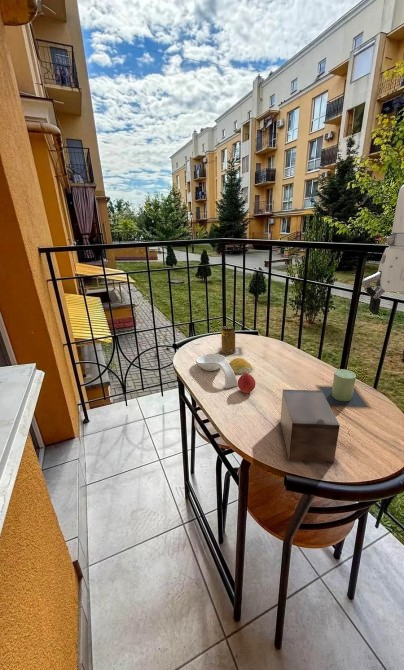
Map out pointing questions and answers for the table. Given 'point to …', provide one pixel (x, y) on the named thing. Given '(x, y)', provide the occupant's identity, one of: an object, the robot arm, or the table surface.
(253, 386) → the onion
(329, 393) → the mat
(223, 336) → the condiment
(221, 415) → the table surface
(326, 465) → the table surface
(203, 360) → the spoon rest
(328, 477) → the table surface
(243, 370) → the bread roll
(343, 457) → the table surface
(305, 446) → the brown block
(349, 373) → the tea tin
